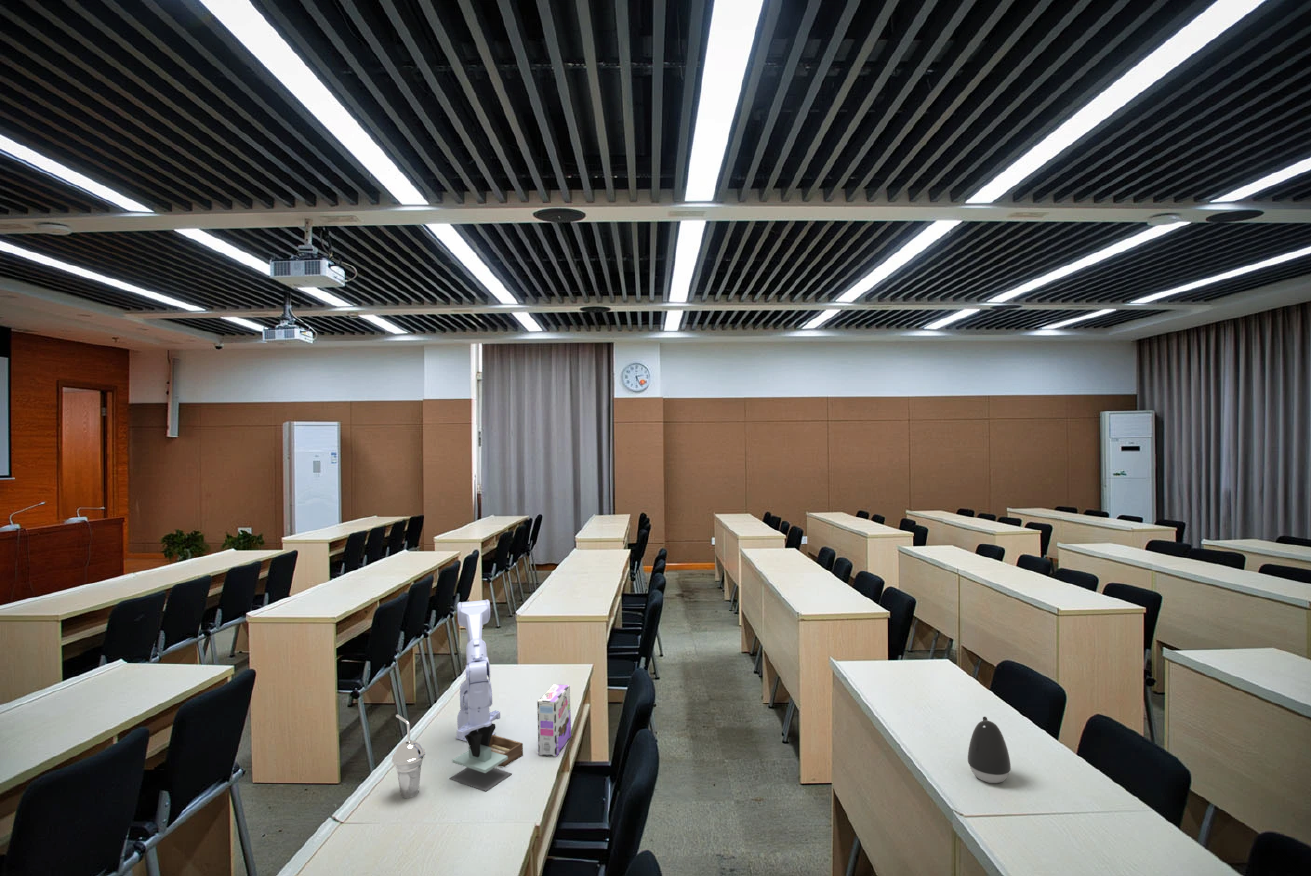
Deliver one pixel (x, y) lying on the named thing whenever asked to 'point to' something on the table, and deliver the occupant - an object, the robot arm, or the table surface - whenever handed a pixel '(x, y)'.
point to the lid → (480, 759)
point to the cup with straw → (408, 764)
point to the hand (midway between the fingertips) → (480, 753)
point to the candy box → (554, 720)
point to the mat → (480, 778)
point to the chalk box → (506, 748)
